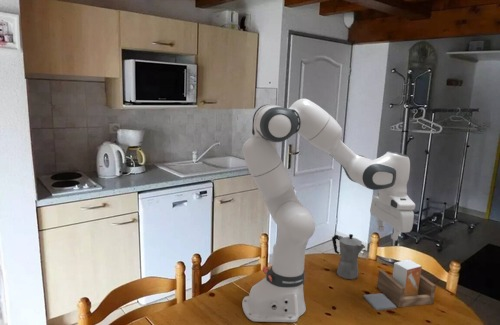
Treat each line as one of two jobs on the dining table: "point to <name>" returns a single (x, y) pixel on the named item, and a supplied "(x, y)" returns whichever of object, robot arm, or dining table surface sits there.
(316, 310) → the dining table surface
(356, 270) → the coffeepot
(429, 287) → the open wooden box
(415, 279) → the small box
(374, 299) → the mat
